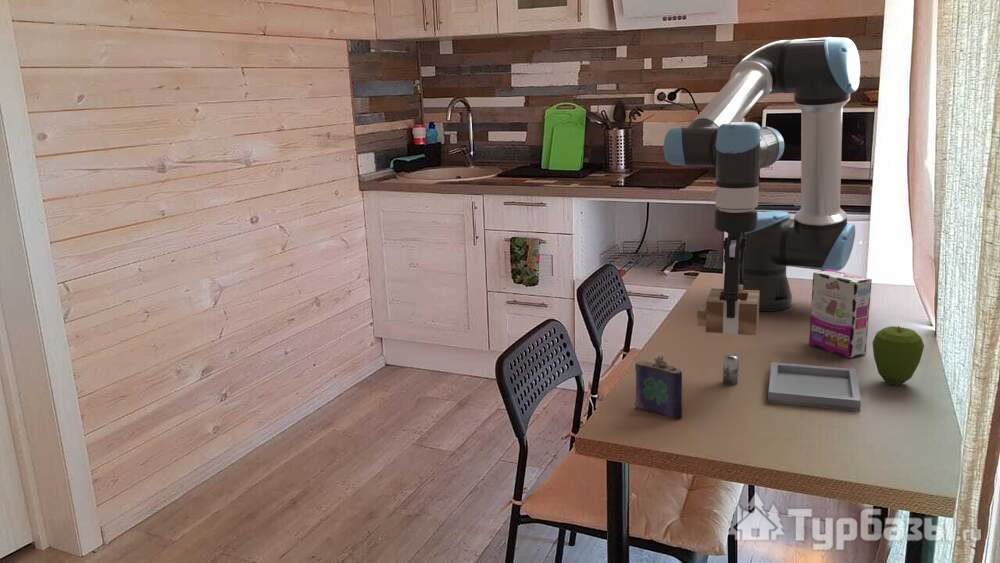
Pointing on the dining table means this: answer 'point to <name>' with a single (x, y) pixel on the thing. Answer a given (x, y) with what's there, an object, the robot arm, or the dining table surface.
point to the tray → (814, 386)
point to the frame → (714, 312)
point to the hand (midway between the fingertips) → (732, 324)
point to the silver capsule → (730, 369)
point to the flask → (659, 389)
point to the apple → (897, 353)
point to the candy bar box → (840, 312)
